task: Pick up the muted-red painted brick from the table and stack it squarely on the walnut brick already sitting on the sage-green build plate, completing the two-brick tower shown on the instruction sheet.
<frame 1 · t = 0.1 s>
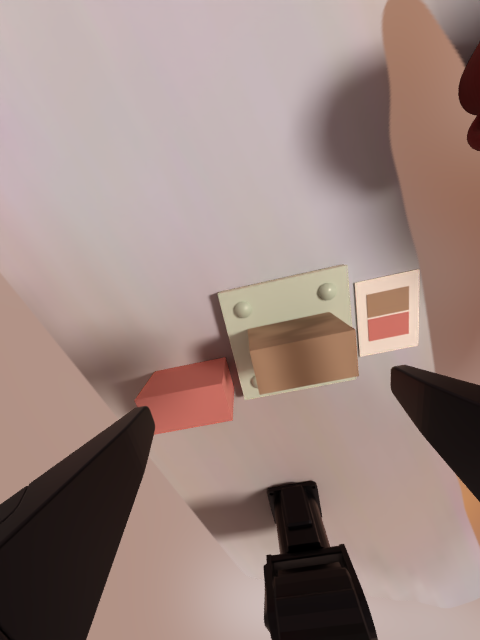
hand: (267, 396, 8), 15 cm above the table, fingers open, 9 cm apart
instruction sheet: (387, 315, 22), on the table
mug: (471, 104, 17), on the table
brick red: (195, 379, 25), on the table
build plate: (288, 335, 23), on the table
brick walnut: (291, 339, 22), point 1 cm above the table, touching build plate
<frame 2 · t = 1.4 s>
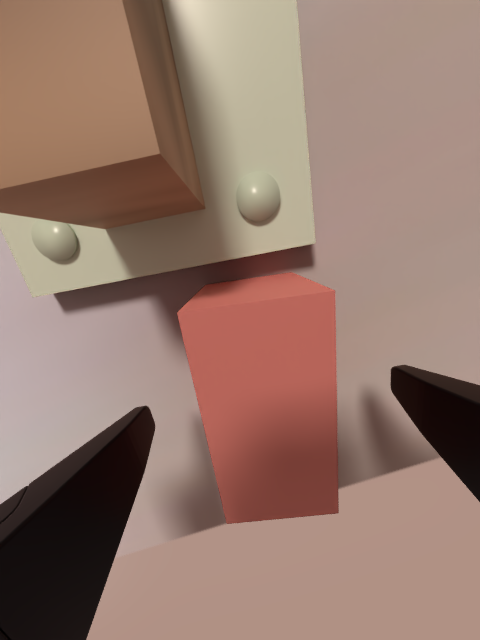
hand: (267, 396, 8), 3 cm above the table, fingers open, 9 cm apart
brick red: (258, 355, 12), on the table
build plate: (133, 108, 8), on the table
brick walnut: (119, 89, 7), point 1 cm above the table, touching build plate
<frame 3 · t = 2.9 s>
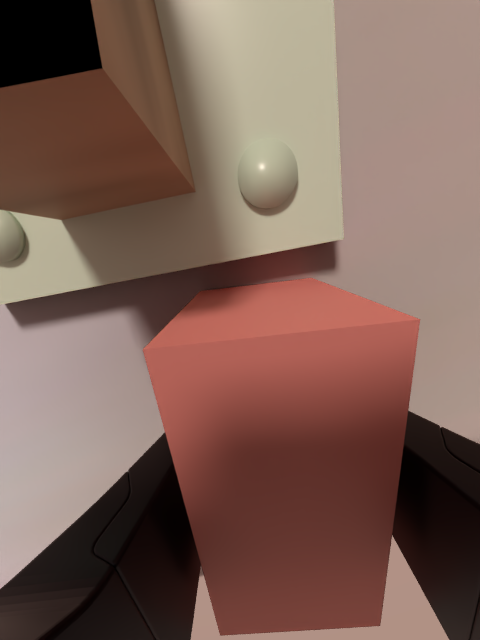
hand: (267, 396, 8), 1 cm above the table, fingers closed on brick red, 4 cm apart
brick red: (264, 380, 9), on the table, touching gripper
build plate: (96, 54, 6), on the table
brick walnut: (70, 17, 5), point 1 cm above the table, touching build plate
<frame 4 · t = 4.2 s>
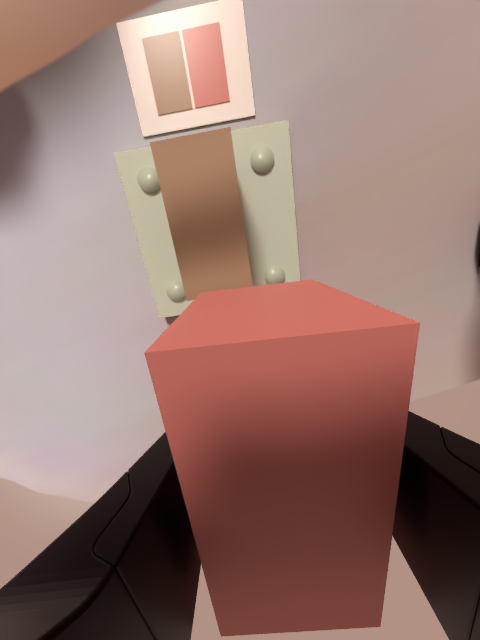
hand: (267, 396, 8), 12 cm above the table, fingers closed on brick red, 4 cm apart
instruction sheet: (189, 72, 15), on the table
brick red: (265, 382, 9), point 11 cm above the table, touching gripper
build plate: (217, 232, 18), on the table
brick walnut: (215, 231, 17), point 1 cm above the table, touching build plate
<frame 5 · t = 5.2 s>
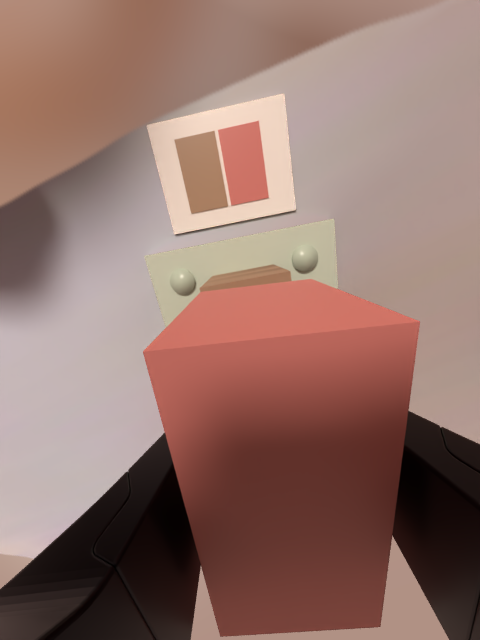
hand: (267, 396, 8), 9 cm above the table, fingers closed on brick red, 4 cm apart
instruction sheet: (224, 170, 14), on the table
brick red: (264, 381, 9), point 8 cm above the table, touching gripper
build plate: (252, 323, 16), on the table
brick walnut: (252, 327, 16), point 1 cm above the table, touching build plate
when the fingers open (8 cm above the table, at t = 6.0 s): brick red stays where it is, resting on brick walnut.
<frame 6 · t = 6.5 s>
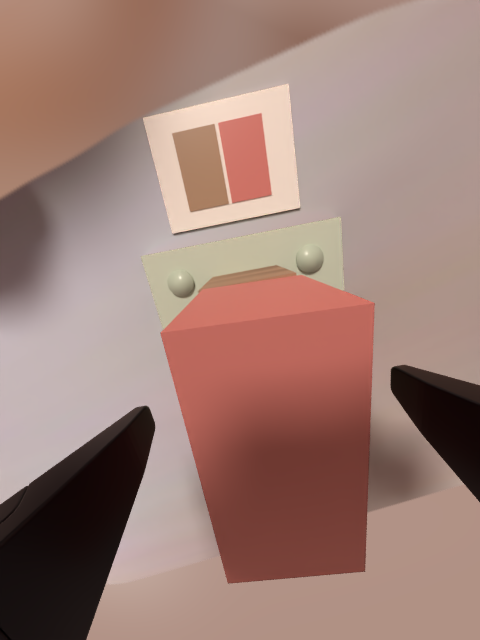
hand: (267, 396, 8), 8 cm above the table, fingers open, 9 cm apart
instruction sheet: (225, 165, 13), on the table
brick red: (263, 369, 10), point 6 cm above the table, touching brick walnut
build plate: (253, 326, 16), on the table
brick walnut: (254, 331, 15), point 1 cm above the table, touching brick red, build plate
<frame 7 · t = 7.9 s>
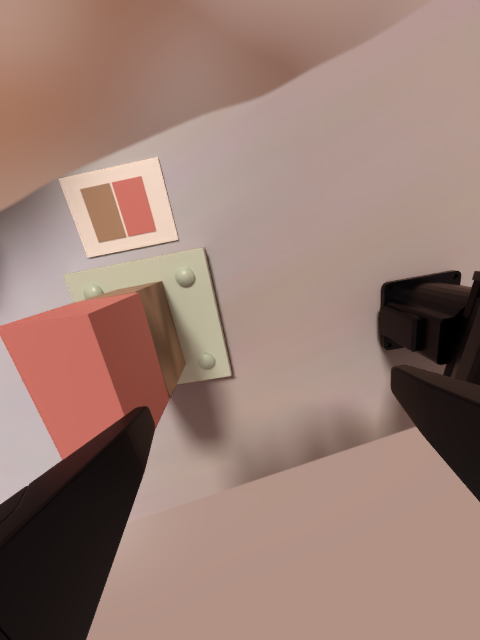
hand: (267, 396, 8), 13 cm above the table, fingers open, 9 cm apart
instruction sheet: (121, 210, 18), on the table
brick red: (127, 353, 15), point 6 cm above the table, touching brick walnut
build plate: (157, 325, 21), on the table
brick walnut: (153, 328, 20), point 1 cm above the table, touching brick red, build plate
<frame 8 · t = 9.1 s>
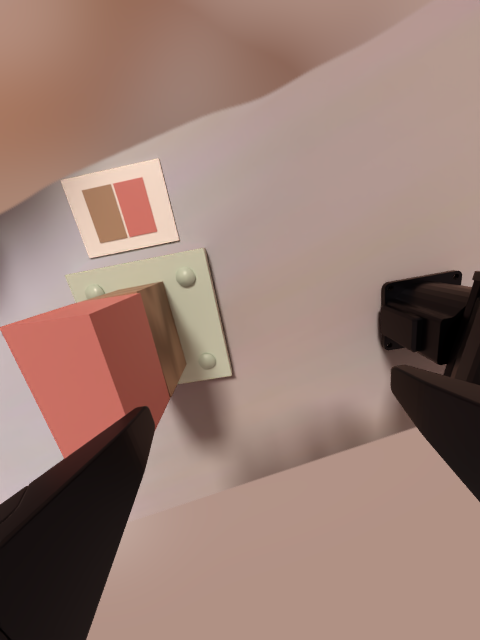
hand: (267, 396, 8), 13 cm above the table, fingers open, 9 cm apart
instruction sheet: (122, 211, 18), on the table
brick red: (128, 353, 15), point 6 cm above the table, touching brick walnut
build plate: (158, 325, 21), on the table
brick walnut: (154, 328, 20), point 1 cm above the table, touching brick red, build plate
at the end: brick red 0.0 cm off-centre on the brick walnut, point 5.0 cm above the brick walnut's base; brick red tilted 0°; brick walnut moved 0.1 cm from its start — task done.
